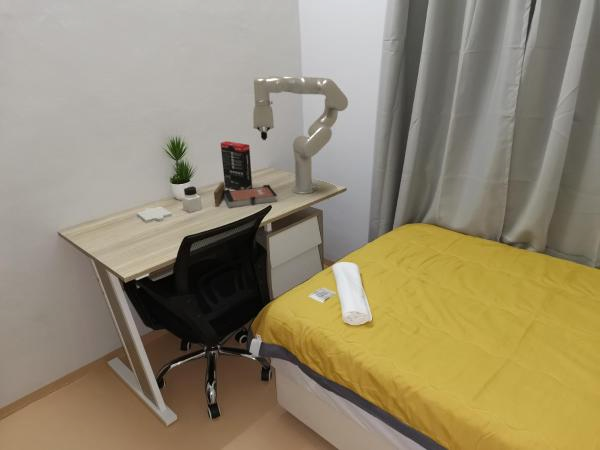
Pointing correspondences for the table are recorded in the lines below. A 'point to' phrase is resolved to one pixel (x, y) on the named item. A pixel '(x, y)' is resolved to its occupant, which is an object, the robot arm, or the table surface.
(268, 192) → the book
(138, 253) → the table surface
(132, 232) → the table surface
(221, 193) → the walnut board
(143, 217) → the mounting plate
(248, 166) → the graphics card box
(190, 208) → the medicine bottle
